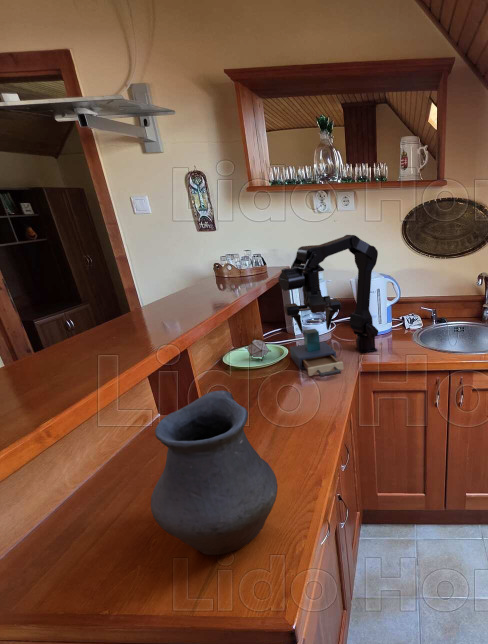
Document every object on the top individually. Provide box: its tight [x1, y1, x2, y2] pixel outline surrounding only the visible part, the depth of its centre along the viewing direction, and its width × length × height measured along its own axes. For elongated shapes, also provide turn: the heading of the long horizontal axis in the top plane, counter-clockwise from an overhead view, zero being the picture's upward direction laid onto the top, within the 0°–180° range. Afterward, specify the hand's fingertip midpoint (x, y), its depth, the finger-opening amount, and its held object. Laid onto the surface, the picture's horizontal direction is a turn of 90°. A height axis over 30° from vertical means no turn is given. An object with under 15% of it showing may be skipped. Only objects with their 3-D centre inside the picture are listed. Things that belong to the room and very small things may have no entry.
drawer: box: [302, 355, 345, 378], centre depth 146 cm, size 17×12×3 cm
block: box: [302, 328, 321, 352], centre depth 154 cm, size 4×4×7 cm
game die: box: [244, 337, 272, 362], centre depth 158 cm, size 9×8×10 cm
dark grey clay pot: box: [150, 389, 279, 556], centre depth 72 cm, size 21×22×25 cm
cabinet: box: [289, 341, 337, 370], centre depth 156 cm, size 14×14×4 cm
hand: (315, 331), depth 146 cm, fingers open, 9 cm apart
